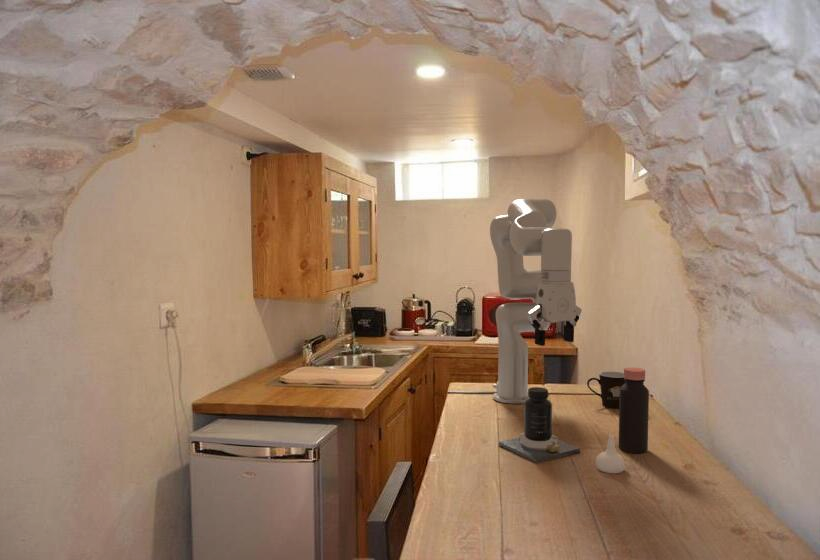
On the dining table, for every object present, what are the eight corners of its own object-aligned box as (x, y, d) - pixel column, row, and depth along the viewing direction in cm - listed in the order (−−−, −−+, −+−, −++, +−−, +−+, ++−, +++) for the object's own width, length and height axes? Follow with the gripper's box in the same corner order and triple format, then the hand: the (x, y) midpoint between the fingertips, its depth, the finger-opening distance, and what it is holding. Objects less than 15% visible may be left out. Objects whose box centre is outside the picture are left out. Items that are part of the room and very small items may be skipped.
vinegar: (650, 447, 149) (652, 368, 148) (644, 455, 143) (646, 373, 142) (622, 442, 153) (623, 365, 151) (615, 450, 147) (616, 370, 146)
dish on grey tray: (498, 445, 151) (498, 433, 151) (540, 436, 158) (540, 425, 158) (536, 463, 139) (536, 450, 139) (579, 452, 146) (580, 440, 145)
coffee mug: (630, 404, 188) (630, 373, 188) (624, 411, 181) (625, 378, 180) (592, 399, 194) (593, 369, 194) (585, 405, 187) (586, 374, 186)
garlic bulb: (600, 477, 132) (602, 442, 131) (591, 463, 138) (593, 431, 137) (628, 476, 132) (631, 442, 131) (618, 463, 138) (620, 430, 137)
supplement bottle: (522, 432, 152) (523, 385, 151) (550, 432, 151) (550, 386, 150) (525, 441, 145) (525, 392, 144) (553, 441, 144) (554, 393, 144)
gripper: (539, 279, 145) (538, 349, 146) (591, 276, 153) (589, 342, 155) (519, 277, 151) (518, 343, 153) (570, 274, 160) (569, 337, 161)
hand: (554, 343), depth 154 cm, fingers open, 9 cm apart
